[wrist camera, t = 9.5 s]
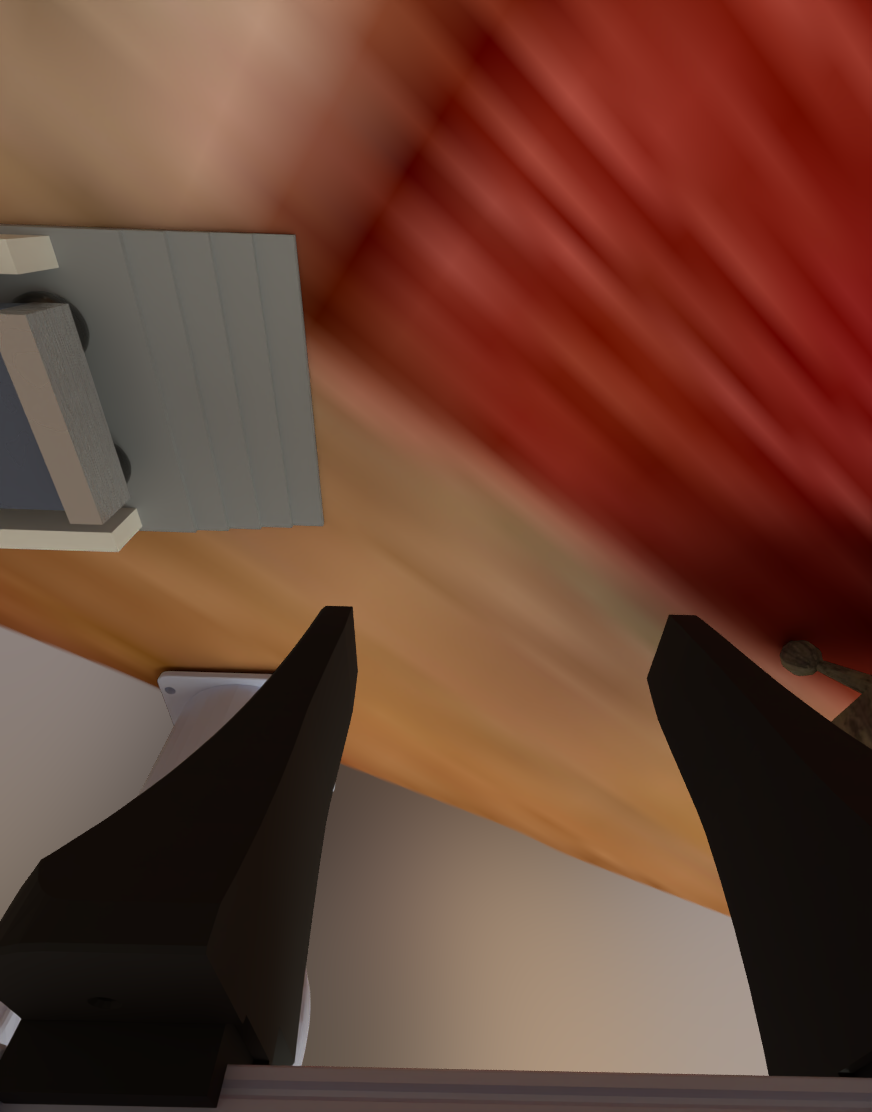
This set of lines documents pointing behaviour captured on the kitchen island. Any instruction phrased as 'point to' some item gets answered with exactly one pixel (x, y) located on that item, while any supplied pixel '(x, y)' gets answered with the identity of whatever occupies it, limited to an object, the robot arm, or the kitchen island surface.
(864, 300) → the kitchen island surface
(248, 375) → the loading dock
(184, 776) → the robot arm
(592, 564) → the kitchen island surface
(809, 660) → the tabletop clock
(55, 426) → the trolley
